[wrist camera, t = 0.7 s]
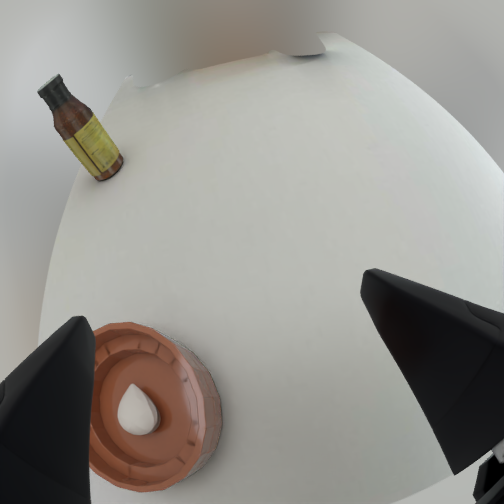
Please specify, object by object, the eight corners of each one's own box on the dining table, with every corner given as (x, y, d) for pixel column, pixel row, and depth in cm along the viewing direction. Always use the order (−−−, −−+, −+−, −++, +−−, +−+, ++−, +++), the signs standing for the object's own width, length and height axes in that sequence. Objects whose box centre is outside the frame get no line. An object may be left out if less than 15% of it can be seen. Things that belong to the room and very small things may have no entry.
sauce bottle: (126, 151, 42) (74, 61, 25) (122, 174, 39) (59, 75, 22) (97, 165, 42) (42, 83, 25) (90, 188, 39) (25, 100, 22)
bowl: (231, 486, 17) (216, 503, 13) (94, 465, 18) (66, 469, 14) (215, 328, 24) (199, 314, 21) (90, 337, 26) (63, 325, 22)
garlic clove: (131, 435, 20) (116, 436, 18) (121, 387, 22) (106, 385, 20) (169, 431, 20) (156, 434, 18) (157, 381, 22) (143, 378, 20)
